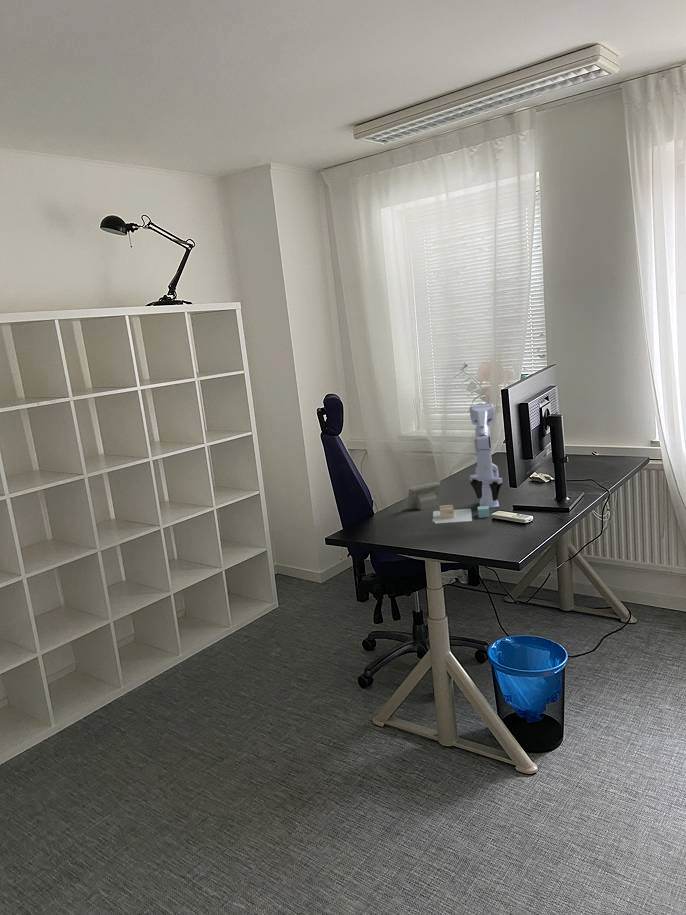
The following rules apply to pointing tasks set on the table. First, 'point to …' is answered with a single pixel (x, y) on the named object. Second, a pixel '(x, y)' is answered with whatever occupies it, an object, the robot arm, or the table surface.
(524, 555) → the table surface
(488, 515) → the teal block
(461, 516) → the board
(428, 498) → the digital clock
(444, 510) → the base block
